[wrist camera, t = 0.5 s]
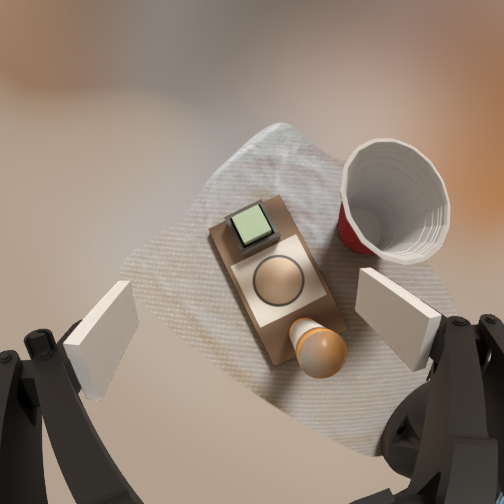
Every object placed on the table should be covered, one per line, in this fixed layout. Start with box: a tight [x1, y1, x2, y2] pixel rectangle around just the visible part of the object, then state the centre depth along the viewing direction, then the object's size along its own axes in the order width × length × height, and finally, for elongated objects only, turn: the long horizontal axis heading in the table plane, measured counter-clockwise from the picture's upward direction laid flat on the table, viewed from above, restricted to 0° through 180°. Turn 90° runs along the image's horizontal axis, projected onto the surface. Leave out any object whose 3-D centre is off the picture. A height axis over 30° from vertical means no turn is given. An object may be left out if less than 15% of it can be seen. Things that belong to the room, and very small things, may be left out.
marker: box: [289, 317, 347, 378], centre depth 22 cm, size 3×3×12 cm
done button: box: [232, 205, 272, 247], centre depth 29 cm, size 3×3×2 cm
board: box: [209, 195, 348, 366], centre depth 29 cm, size 17×9×3 cm, turn 26°
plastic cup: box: [338, 139, 450, 265], centre depth 25 cm, size 11×11×12 cm
